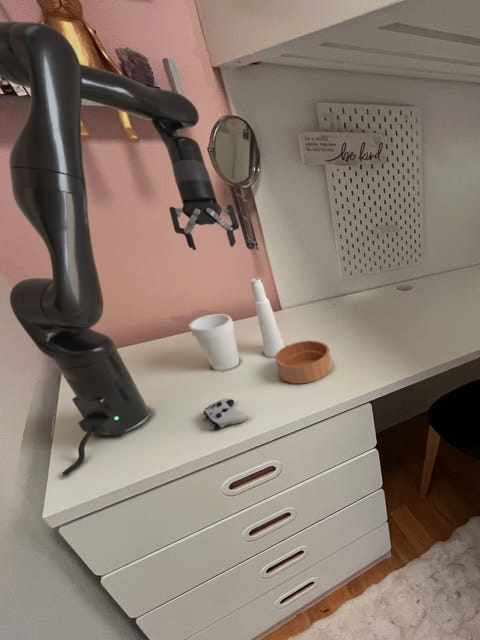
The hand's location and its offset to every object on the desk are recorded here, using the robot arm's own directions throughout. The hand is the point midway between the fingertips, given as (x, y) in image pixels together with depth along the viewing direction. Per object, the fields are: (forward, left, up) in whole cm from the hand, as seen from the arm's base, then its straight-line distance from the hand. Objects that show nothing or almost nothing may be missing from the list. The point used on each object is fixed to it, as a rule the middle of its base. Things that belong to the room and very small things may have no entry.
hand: (213, 247), depth 105 cm
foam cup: (-12, -2, -29) cm, 31 cm away
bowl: (-12, -25, -29) cm, 40 cm away
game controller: (-33, -16, -29) cm, 46 cm away
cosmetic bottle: (-4, -12, -29) cm, 31 cm away
